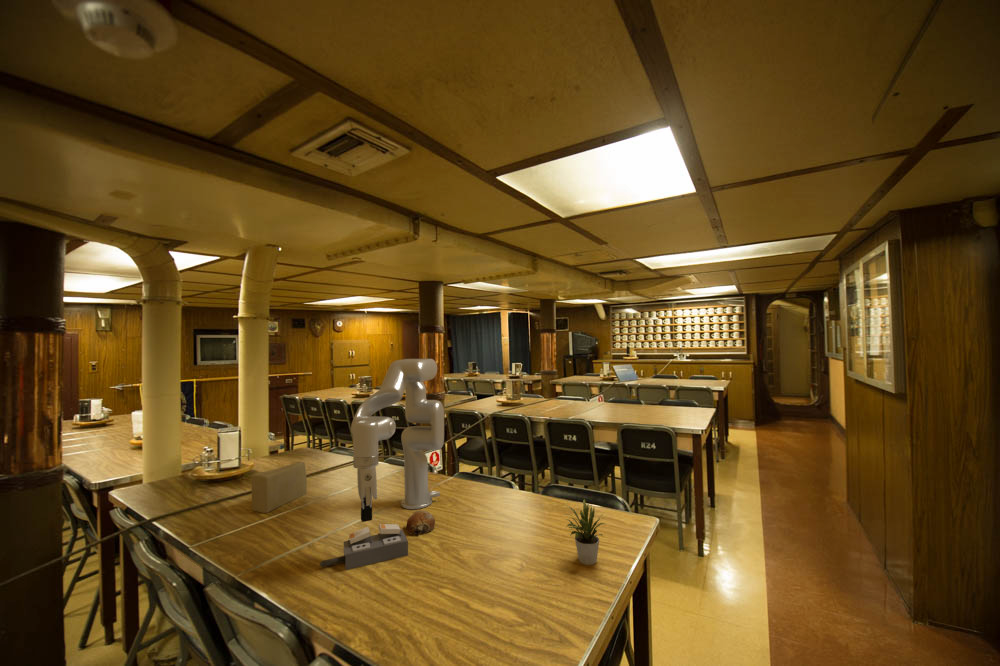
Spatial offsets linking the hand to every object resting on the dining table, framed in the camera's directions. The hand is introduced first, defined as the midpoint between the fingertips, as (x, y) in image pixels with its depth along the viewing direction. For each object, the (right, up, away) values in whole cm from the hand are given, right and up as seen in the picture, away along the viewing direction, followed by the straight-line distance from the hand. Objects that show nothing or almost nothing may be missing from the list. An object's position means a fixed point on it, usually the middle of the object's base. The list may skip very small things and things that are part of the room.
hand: (366, 520), depth 125 cm
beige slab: (-51, -14, +46) cm, 70 cm away
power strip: (0, -11, -2) cm, 11 cm away
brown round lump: (+14, -11, +17) cm, 24 cm away
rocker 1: (-2, -4, -1) cm, 5 cm away
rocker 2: (+6, -4, +3) cm, 8 cm away
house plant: (+67, -9, -6) cm, 68 cm away
